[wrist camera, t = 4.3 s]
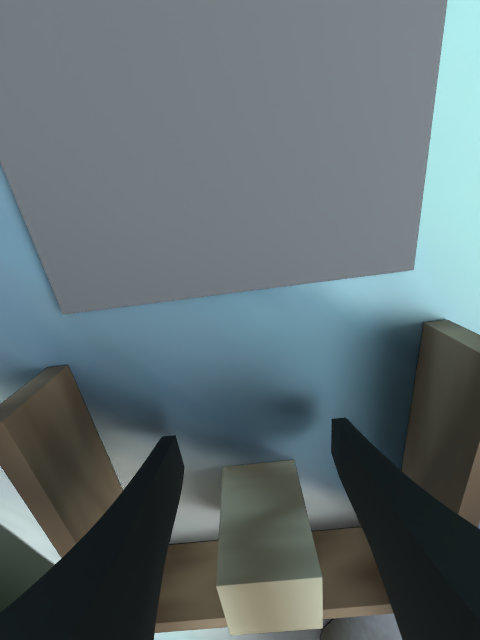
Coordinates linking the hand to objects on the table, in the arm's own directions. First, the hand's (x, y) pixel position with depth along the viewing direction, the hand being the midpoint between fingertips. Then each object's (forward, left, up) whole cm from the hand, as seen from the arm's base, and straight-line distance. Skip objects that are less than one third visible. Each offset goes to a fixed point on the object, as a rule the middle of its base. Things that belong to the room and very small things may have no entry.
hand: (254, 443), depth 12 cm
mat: (0, -11, -1) cm, 12 cm away
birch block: (0, +5, -2) cm, 5 cm away
